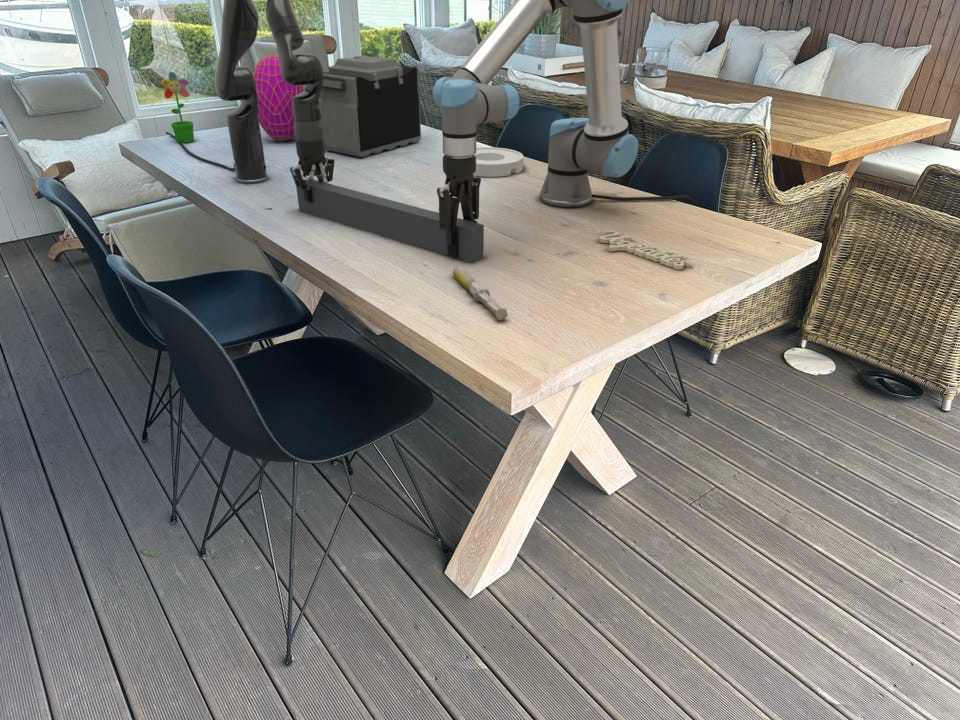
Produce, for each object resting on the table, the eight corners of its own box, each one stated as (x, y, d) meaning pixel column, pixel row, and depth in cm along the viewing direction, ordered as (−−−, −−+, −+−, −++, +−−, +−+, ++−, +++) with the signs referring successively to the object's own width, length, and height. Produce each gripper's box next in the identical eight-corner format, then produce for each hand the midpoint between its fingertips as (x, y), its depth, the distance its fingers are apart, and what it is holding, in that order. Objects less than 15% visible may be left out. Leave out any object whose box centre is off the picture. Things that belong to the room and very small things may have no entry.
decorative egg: (293, 132, 276) (283, 50, 261) (319, 140, 264) (310, 56, 249) (249, 139, 265) (236, 54, 250) (273, 148, 253) (261, 60, 238)
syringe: (449, 274, 155) (449, 263, 153) (465, 272, 156) (464, 260, 154) (490, 323, 135) (491, 310, 133) (508, 319, 136) (508, 307, 134)
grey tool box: (383, 133, 276) (378, 52, 261) (425, 141, 265) (422, 56, 250) (314, 150, 251) (304, 61, 235) (358, 160, 240) (350, 67, 224)
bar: (483, 257, 164) (483, 224, 160) (471, 263, 161) (472, 229, 157) (311, 206, 196) (308, 178, 192) (299, 210, 193) (295, 181, 188)
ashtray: (457, 158, 244) (457, 146, 242) (522, 159, 243) (522, 147, 241) (452, 176, 224) (452, 163, 222) (523, 177, 223) (524, 165, 221)
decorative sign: (585, 238, 173) (610, 229, 179) (584, 241, 173) (610, 233, 179) (673, 269, 156) (698, 259, 162) (672, 273, 156) (697, 262, 162)
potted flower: (174, 144, 256) (159, 72, 244) (172, 140, 262) (157, 69, 250) (201, 142, 260) (187, 71, 247) (197, 137, 266) (184, 68, 253)
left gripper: (320, 130, 188) (327, 191, 197) (278, 139, 178) (287, 203, 187) (339, 134, 184) (345, 196, 193) (297, 143, 174) (305, 209, 183)
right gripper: (470, 144, 161) (469, 239, 173) (420, 159, 149) (423, 260, 161) (496, 149, 157) (493, 246, 169) (447, 165, 145) (448, 268, 157)
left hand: (316, 199), depth 190 cm, fingers closed on bar, 4 cm apart
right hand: (459, 252), depth 165 cm, fingers closed on bar, 4 cm apart
